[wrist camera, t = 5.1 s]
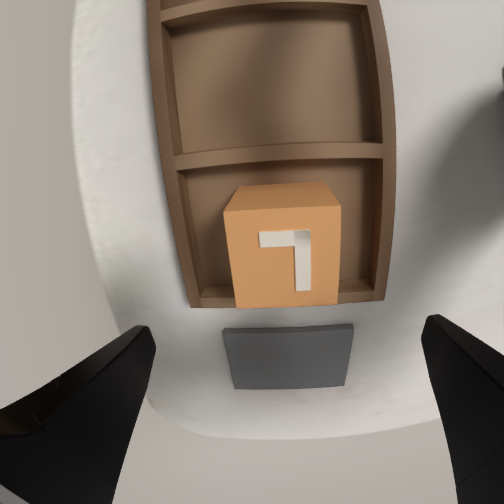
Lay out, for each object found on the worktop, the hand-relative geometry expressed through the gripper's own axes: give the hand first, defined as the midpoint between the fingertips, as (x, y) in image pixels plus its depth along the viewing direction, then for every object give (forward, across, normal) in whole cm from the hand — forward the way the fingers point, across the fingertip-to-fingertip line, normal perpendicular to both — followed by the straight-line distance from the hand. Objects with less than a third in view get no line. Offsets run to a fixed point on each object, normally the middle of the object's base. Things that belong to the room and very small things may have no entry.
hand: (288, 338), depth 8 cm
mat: (+11, 0, +12) cm, 16 cm away
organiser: (+11, 0, -9) cm, 14 cm away
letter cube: (+10, 0, 0) cm, 10 cm away
